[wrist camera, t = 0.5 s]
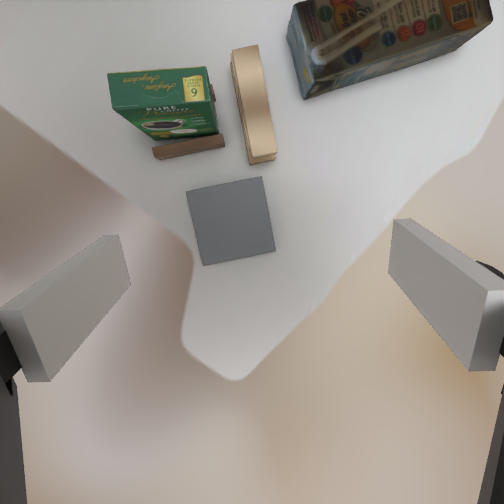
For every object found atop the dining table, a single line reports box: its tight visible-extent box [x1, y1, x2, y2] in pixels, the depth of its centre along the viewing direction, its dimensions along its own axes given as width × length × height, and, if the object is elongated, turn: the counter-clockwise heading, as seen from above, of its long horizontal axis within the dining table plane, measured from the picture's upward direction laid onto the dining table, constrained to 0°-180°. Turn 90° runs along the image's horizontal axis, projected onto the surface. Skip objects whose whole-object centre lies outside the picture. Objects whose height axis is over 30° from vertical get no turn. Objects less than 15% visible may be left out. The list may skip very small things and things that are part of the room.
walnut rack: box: [152, 84, 225, 160], centre depth 36 cm, size 6×8×2 cm
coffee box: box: [107, 66, 219, 140], centre depth 31 cm, size 8×3×13 cm, turn 95°
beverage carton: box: [287, 0, 493, 100], centre depth 33 cm, size 8×19×7 cm, turn 107°
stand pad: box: [186, 176, 276, 266], centre depth 38 cm, size 9×9×2 cm
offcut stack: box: [231, 45, 277, 165], centre depth 34 cm, size 11×3×5 cm, turn 11°
